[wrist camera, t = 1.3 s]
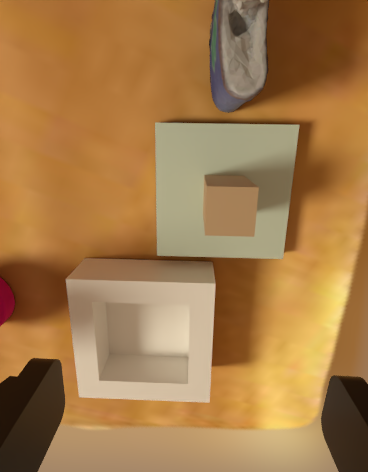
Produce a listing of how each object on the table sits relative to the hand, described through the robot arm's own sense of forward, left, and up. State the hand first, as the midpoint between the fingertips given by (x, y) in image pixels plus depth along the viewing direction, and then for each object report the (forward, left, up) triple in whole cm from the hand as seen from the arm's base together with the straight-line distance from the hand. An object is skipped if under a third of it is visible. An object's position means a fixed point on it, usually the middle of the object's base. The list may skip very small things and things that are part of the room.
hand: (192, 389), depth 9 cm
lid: (-3, +2, -19) cm, 19 cm away
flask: (-14, +2, -19) cm, 24 cm away
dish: (+10, -4, -19) cm, 22 cm away
